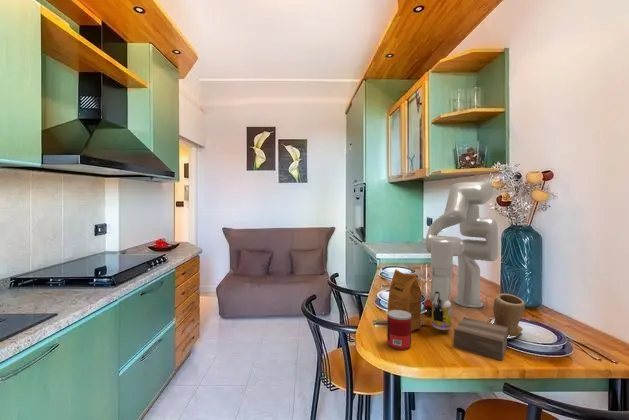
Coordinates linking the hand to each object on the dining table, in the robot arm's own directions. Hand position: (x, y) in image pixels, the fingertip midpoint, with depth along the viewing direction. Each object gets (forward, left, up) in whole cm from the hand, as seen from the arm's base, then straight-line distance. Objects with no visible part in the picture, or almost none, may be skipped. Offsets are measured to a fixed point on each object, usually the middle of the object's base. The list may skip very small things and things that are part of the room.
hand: (441, 317), depth 112 cm
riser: (+3, +14, -6) cm, 15 cm away
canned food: (+21, -8, -6) cm, 23 cm away
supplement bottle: (0, 0, -4) cm, 4 cm away
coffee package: (+5, -13, -6) cm, 15 cm away
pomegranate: (-15, -8, -6) cm, 18 cm away
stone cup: (-13, +20, -6) cm, 25 cm away
